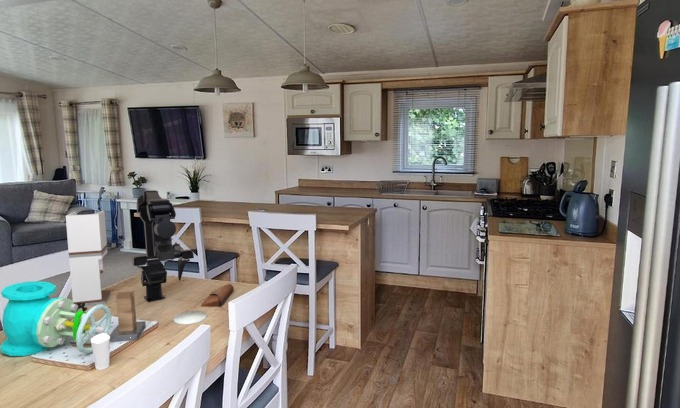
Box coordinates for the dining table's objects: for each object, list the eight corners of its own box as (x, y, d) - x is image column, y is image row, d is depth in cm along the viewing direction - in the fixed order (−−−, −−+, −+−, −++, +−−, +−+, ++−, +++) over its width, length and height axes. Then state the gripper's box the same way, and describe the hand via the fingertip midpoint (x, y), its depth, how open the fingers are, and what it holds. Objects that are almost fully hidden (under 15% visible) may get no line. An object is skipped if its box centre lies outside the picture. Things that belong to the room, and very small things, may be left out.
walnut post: (123, 326, 134) (120, 290, 132) (136, 325, 134) (134, 289, 133) (119, 331, 130) (116, 294, 128) (132, 330, 130) (130, 293, 129)
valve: (29, 278, 128) (120, 293, 126) (28, 331, 131) (117, 347, 128) (-14, 293, 114) (88, 310, 112) (-14, 353, 117) (85, 371, 114)
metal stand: (119, 328, 136) (119, 323, 136) (145, 326, 138) (145, 321, 138) (109, 342, 127) (108, 336, 126) (137, 340, 128) (136, 333, 128)
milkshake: (94, 363, 114) (92, 328, 113) (115, 362, 114) (112, 328, 113) (86, 371, 110) (83, 336, 108) (107, 370, 110) (104, 335, 109)
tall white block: (105, 304, 159) (98, 214, 154) (73, 307, 155) (65, 215, 151) (110, 294, 169) (104, 210, 165) (80, 297, 166) (73, 211, 162)
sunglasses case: (213, 291, 173) (221, 277, 173) (228, 299, 174) (235, 286, 173) (199, 307, 155) (207, 292, 155) (215, 316, 156) (224, 301, 155)
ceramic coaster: (169, 317, 146) (169, 315, 146) (200, 309, 153) (200, 308, 153) (178, 327, 137) (178, 325, 137) (211, 319, 144) (211, 317, 144)
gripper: (134, 241, 128) (138, 291, 128) (195, 234, 138) (199, 281, 138) (130, 239, 138) (134, 286, 138) (188, 233, 148) (191, 277, 148)
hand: (165, 282), depth 140 cm, fingers open, 9 cm apart
